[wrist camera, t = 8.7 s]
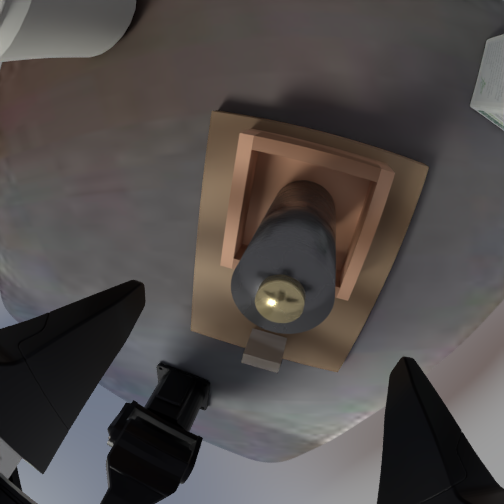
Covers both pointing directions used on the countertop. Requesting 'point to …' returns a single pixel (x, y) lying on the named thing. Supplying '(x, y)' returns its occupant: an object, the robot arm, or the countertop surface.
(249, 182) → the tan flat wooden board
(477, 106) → the syrup box
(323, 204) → the cell
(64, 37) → the can
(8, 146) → the countertop surface
